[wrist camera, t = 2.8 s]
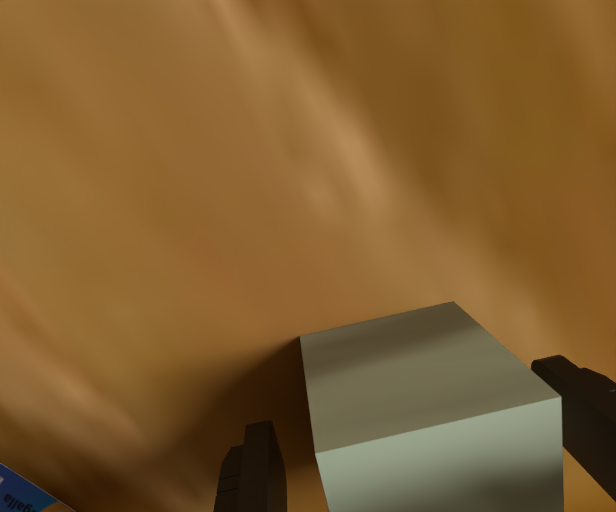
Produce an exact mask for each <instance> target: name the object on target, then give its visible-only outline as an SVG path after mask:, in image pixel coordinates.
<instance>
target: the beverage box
mask: <svg viewBox="0 0 616 512" xmlns="http://www.w3.org/2000/svg"><path fill="white" fill-rule="evenodd" d="M0 512H77V511H75V510H74V509H72V508H70V507H69V506H67V505H66V504H64V503H63V502H61V501H60V500H58V499H56V498H55V497H53V496H52V495H50V494H49V493H47V492H46V491H44V490H43V489H41V488H39V487H38V486H36V485H35V484H33V483H32V482H30V481H29V480H27V479H25V478H24V477H22V476H21V475H19V474H18V473H16V472H15V471H13V470H11V469H10V468H8V467H7V466H5V465H4V464H2V463H1V462H0Z"/></svg>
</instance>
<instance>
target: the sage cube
mask: <svg viewBox="0 0 616 512" xmlns="http://www.w3.org/2000/svg"><path fill="white" fill-rule="evenodd" d="M300 342H301V350H302V357H303V365H304V372H305V380H306V388H307V395H308V403H309V410H310V418H311V426H312V433H313V441H314V449H315V455H316V459H317V463H318V467H319V471H320V475H321V479H322V483H323V487H324V492H325V496H326V500H327V504H328V508H329V512H564V493H563V449H562V404H561V396H560V395H559V394H558V393H557V392H556V391H554V390H553V389H552V388H551V387H550V386H549V385H548V384H547V383H545V382H544V381H543V380H542V379H541V378H540V377H539V376H537V375H536V374H535V373H534V372H533V371H532V370H531V369H530V368H528V367H527V366H526V365H525V364H524V363H523V362H522V361H520V360H519V359H518V358H517V357H516V356H515V355H514V354H513V353H511V352H510V351H509V350H508V349H507V348H506V347H505V346H503V345H502V344H501V343H500V342H499V341H498V340H497V339H496V338H494V337H493V336H492V335H491V334H490V333H489V332H488V331H486V330H485V329H484V328H483V327H482V326H481V325H480V324H479V323H477V322H476V321H475V320H474V319H473V318H472V317H471V316H469V315H468V314H467V313H466V312H465V311H464V310H463V309H462V308H460V307H459V306H458V305H457V304H456V303H455V302H454V301H453V302H448V303H444V304H439V305H435V306H431V307H426V308H422V309H417V310H413V311H408V312H404V313H399V314H395V315H391V316H386V317H382V318H377V319H373V320H368V321H364V322H359V323H355V324H351V325H346V326H342V327H337V328H333V329H328V330H324V331H319V332H315V333H310V334H306V335H302V336H300Z"/></svg>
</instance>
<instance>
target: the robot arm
mask: <svg viewBox="0 0 616 512" xmlns="http://www.w3.org/2000/svg"><path fill="white" fill-rule="evenodd" d="M531 370H532V371H533V372H534V373H535V374H536V375H537V376H539V377H540V378H541V379H542V380H543V381H544V382H545V383H547V384H548V385H549V386H550V387H551V388H552V389H553V390H554V391H556V392H557V393H558V394H559V395H560V396H561V404H562V446H563V447H564V448H565V449H566V450H567V451H568V452H569V453H570V454H571V455H572V456H573V457H574V458H575V459H576V461H577V462H578V463H579V464H580V465H581V466H582V467H583V468H584V469H585V470H586V471H587V472H588V473H589V474H590V475H591V476H592V477H593V478H594V480H595V481H596V482H597V483H598V484H599V485H600V486H601V487H602V488H603V489H604V490H605V491H606V492H607V493H608V494H609V495H610V496H611V497H612V499H613V500H614V501H615V502H616V383H615V382H613V381H612V380H611V379H609V378H608V377H606V376H604V375H602V374H599V373H597V372H594V371H592V370H589V369H587V368H578V367H577V366H576V365H574V364H573V363H572V362H570V361H569V360H568V359H566V358H565V357H563V356H561V355H555V356H551V357H547V358H542V359H538V360H534V361H533V362H532V364H531ZM213 512H287V485H286V474H285V467H284V463H283V458H282V455H281V451H280V448H279V444H278V441H277V437H276V433H275V430H274V426H273V423H272V421H271V420H267V421H263V422H258V423H254V424H249V425H247V426H246V429H245V438H244V445H240V446H236V447H231V449H230V450H229V452H228V454H227V455H226V457H225V459H224V460H223V462H222V465H221V471H220V477H219V482H218V488H217V496H216V500H215V505H214V511H213Z"/></svg>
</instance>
